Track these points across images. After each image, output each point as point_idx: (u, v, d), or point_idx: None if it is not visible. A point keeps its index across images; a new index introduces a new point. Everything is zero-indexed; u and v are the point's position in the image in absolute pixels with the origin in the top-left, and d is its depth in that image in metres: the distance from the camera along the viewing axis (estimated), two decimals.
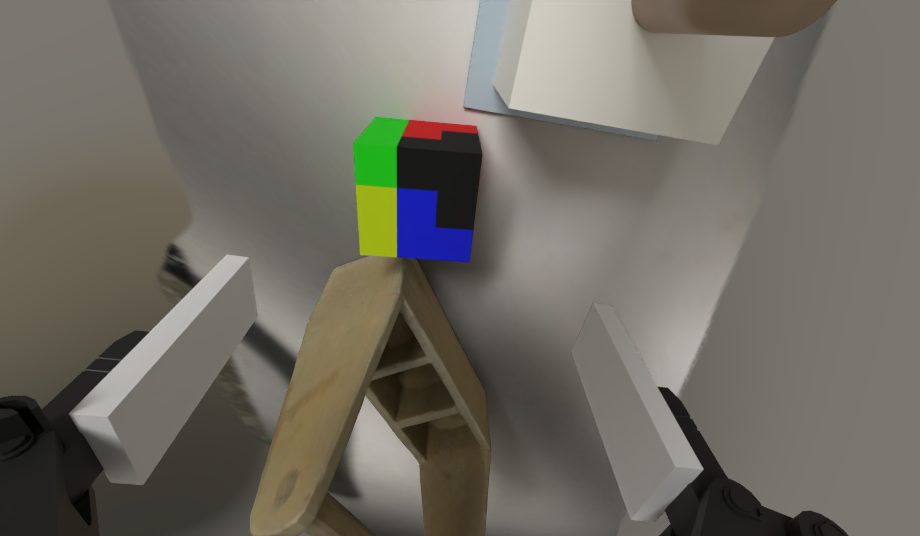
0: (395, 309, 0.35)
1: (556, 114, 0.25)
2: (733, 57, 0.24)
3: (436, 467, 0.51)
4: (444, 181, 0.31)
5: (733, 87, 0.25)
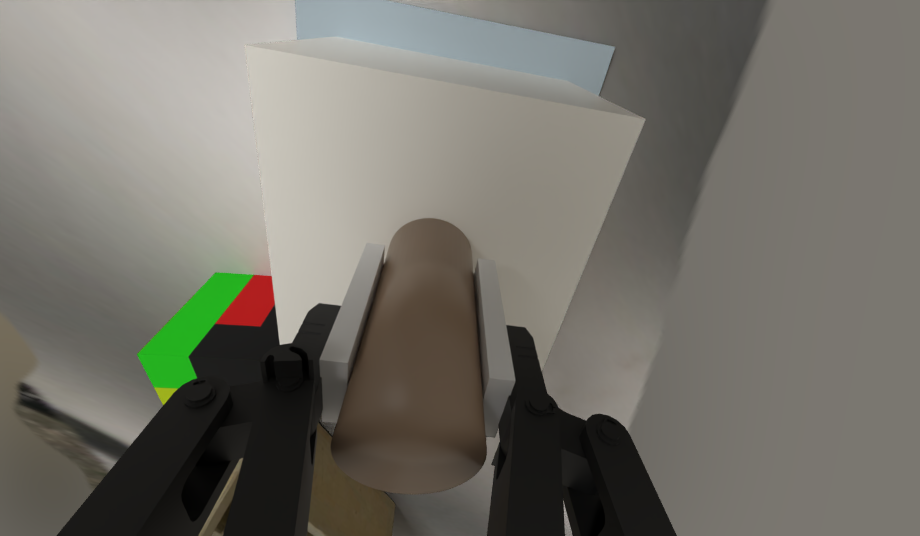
0: (226, 498, 0.31)
1: None
2: (531, 308, 0.20)
3: None
4: None
5: (540, 333, 0.21)
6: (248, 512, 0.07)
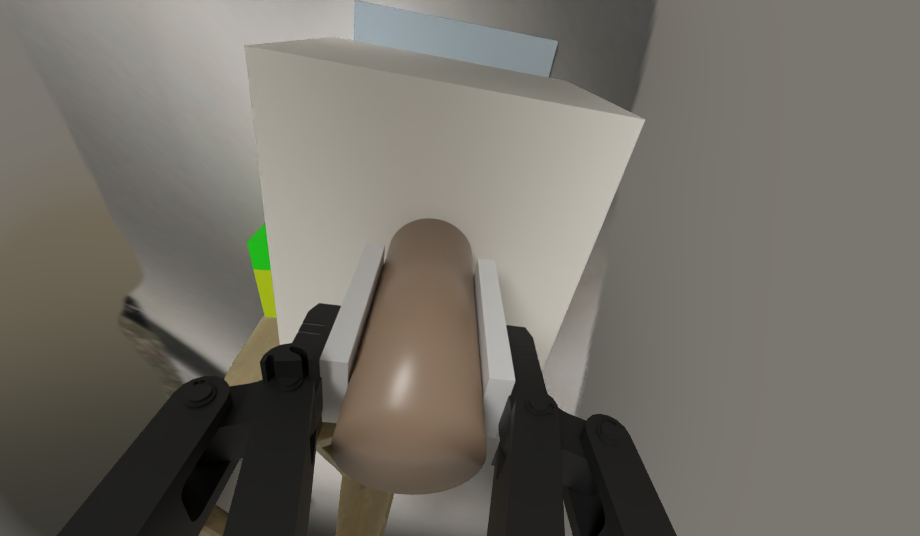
0: None
1: None
2: (530, 309, 0.20)
3: None
4: None
5: (539, 333, 0.21)
6: (248, 512, 0.07)
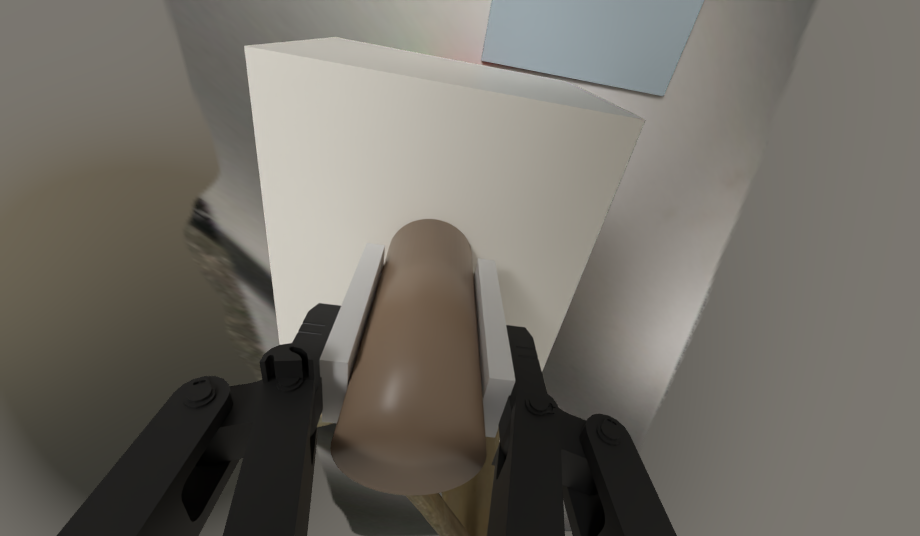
0: None
1: None
2: (530, 309, 0.20)
3: None
4: None
5: (539, 333, 0.21)
6: (248, 512, 0.07)
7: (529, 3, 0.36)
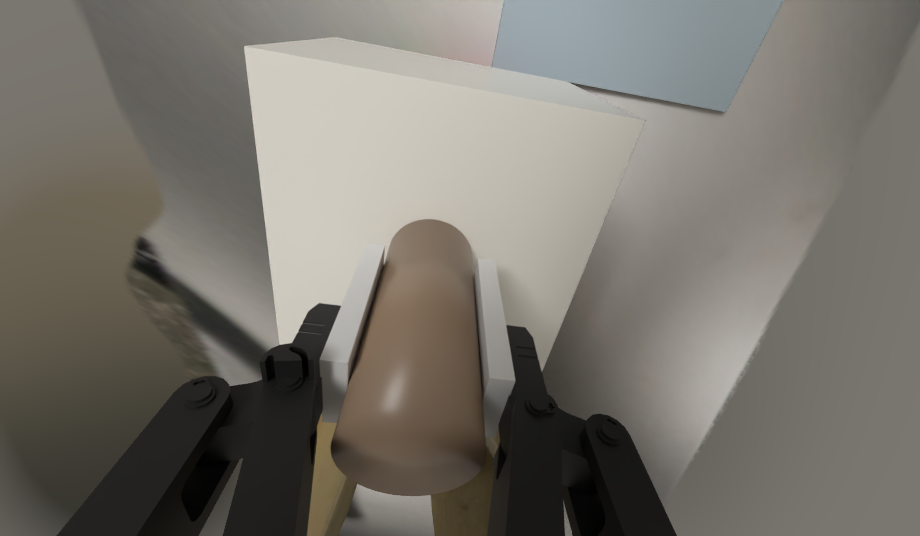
0: None
1: None
2: (530, 309, 0.20)
3: (450, 496, 0.44)
4: None
5: (539, 333, 0.21)
6: (248, 512, 0.07)
7: None
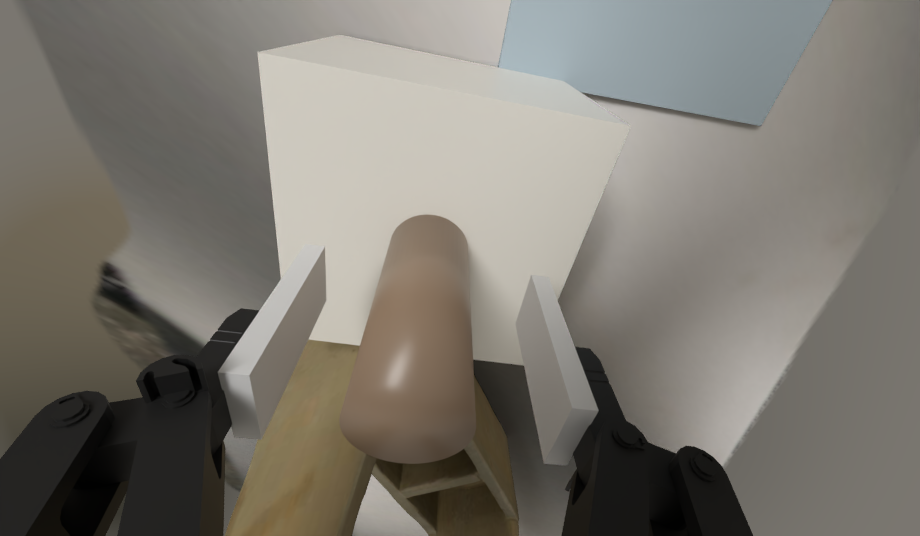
0: None
1: (342, 341, 0.23)
2: None
3: None
4: None
5: None
6: None
7: None
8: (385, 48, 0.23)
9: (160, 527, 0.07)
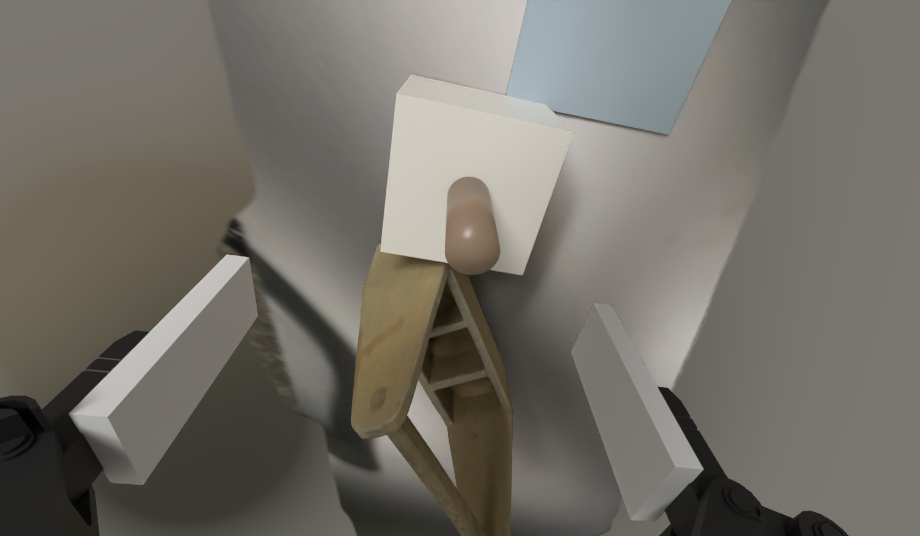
0: (444, 273, 0.41)
1: (412, 255, 0.39)
2: (519, 229, 0.38)
3: (463, 428, 0.56)
4: None
5: (523, 245, 0.39)
6: None
7: (550, 52, 0.40)
8: (440, 84, 0.39)
9: None
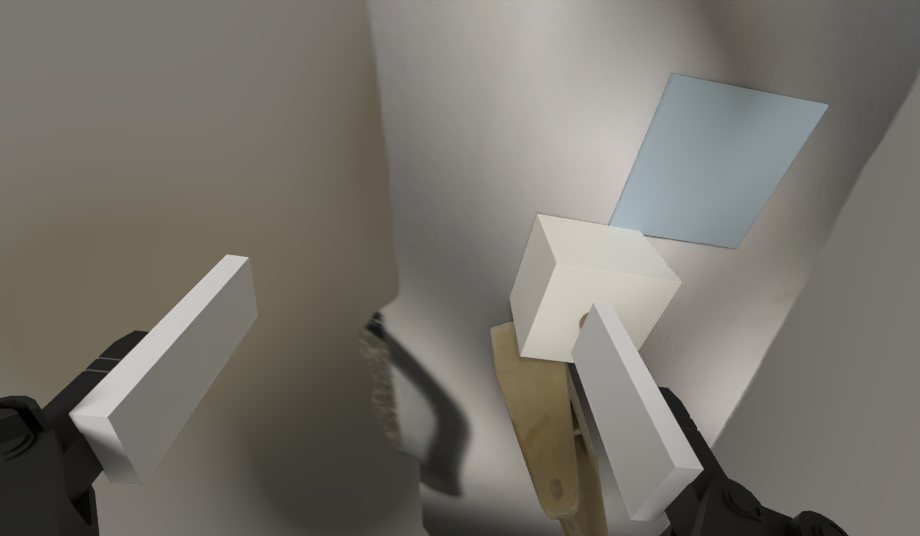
0: (565, 368, 0.52)
1: (544, 358, 0.51)
2: None
3: None
4: None
5: None
6: None
7: (647, 197, 0.51)
8: (564, 225, 0.51)
9: None
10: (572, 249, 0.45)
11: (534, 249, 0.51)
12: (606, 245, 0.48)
